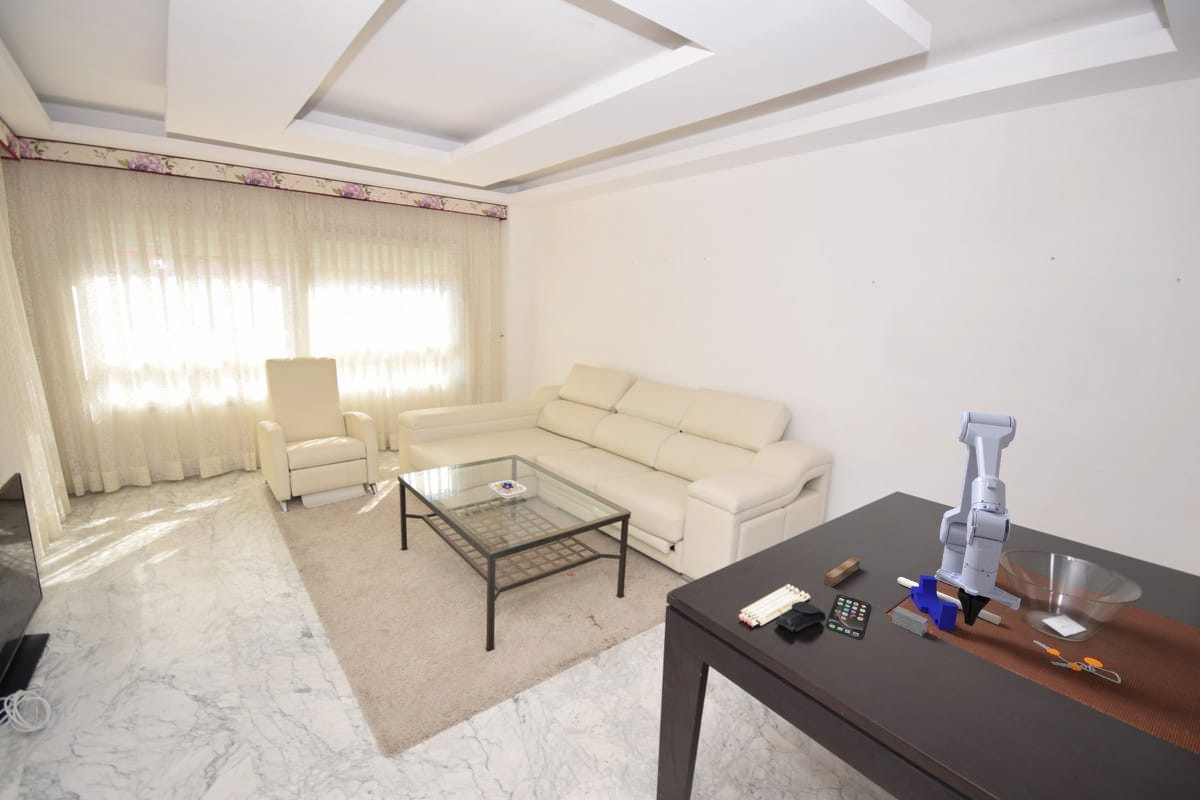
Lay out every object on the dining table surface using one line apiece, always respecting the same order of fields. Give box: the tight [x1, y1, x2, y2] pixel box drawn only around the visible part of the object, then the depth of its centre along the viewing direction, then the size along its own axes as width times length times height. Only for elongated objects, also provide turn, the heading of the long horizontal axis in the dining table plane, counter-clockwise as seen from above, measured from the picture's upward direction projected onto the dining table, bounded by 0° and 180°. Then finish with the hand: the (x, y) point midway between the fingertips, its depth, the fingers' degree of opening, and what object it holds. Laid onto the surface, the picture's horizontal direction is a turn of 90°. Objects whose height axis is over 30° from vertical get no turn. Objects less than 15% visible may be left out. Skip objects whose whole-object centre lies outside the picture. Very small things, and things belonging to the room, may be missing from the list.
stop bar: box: [823, 556, 861, 588], centre depth 132 cm, size 14×2×2 cm, turn 129°
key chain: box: [1033, 639, 1122, 684], centre depth 103 cm, size 13×7×1 cm, turn 53°
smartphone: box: [824, 594, 872, 641], centre depth 117 cm, size 7×1×15 cm
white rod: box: [897, 576, 1002, 626], centre depth 122 cm, size 2×21×2 cm, turn 39°
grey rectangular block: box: [891, 605, 929, 637], centre depth 113 cm, size 2×6×3 cm, turn 39°
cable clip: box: [909, 574, 959, 632], centre depth 117 cm, size 12×4×6 cm, turn 169°
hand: (969, 623), depth 111 cm, fingers closed
